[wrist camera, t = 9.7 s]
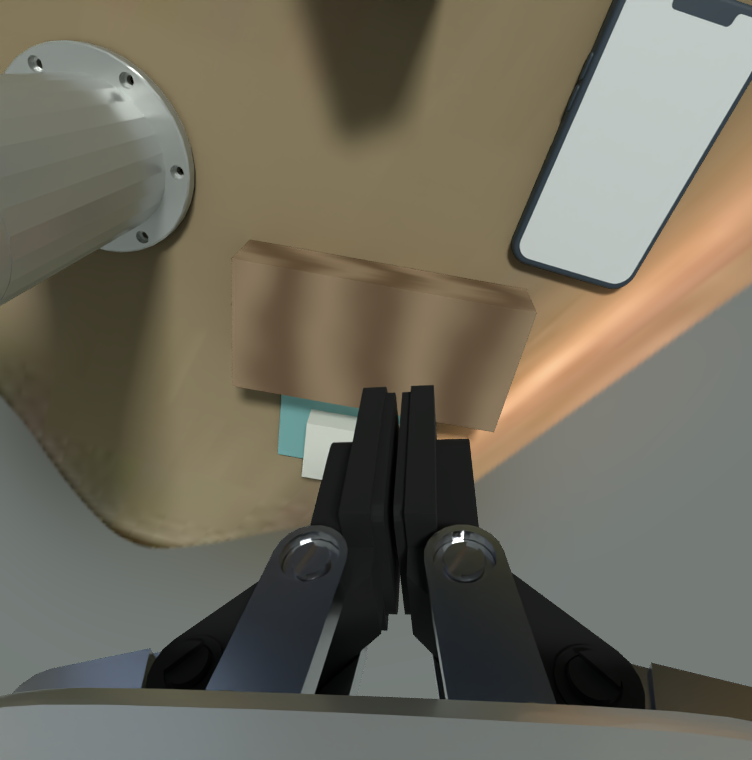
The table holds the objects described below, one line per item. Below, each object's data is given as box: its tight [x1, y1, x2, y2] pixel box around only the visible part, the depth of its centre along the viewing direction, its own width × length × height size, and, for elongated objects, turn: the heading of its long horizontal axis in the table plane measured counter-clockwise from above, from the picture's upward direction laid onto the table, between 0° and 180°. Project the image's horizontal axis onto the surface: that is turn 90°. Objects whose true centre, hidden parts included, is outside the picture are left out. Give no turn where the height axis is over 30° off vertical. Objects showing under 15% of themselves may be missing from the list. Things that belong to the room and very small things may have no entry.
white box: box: [302, 409, 400, 480], centre depth 44 cm, size 9×6×2 cm, turn 81°
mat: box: [278, 395, 400, 458], centre depth 44 cm, size 13×9×1 cm
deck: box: [232, 240, 537, 432], centre depth 37 cm, size 20×10×4 cm, turn 81°
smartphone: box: [511, 0, 752, 289], centre depth 31 cm, size 9×2×16 cm
